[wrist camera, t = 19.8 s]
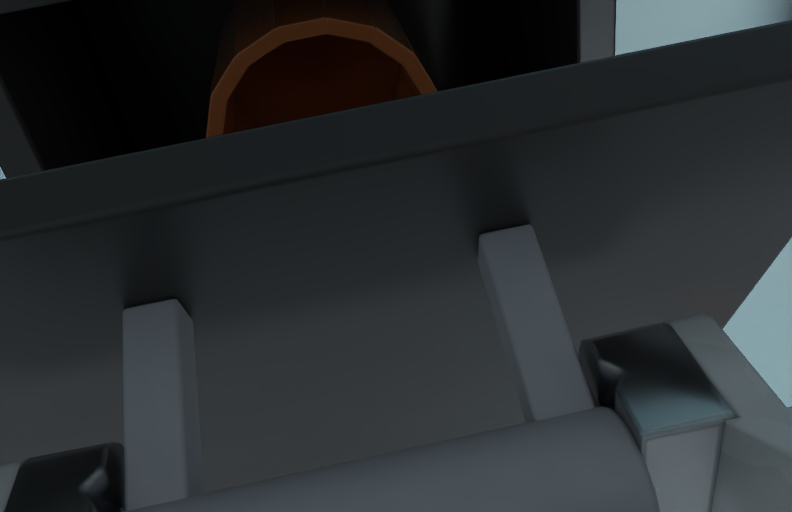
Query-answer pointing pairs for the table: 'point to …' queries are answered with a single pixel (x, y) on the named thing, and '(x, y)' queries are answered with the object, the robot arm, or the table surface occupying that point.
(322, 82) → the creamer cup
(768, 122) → the black bin lid
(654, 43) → the table surface
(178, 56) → the black storage bin
